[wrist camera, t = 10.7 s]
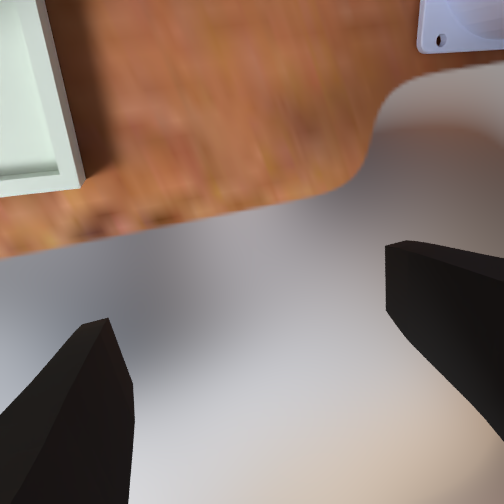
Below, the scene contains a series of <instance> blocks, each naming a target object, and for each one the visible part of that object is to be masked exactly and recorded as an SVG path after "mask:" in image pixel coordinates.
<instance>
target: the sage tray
mask: <svg viewBox="0 0 504 504" xmlns="http://www.w3.org/2000/svg"><path fill="white" fill-rule="evenodd" d="M85 180H86V177H85V173H84V168H83V164H82V160H81V155H80V151H79V147H78V142H77V138H76V134H75V130H74V125H73V121H72V117H71V112H70V108H69V104H68V99H67V95H66V91H65V87H64V82H63V78H62V74H61V69H60V65H59V61H58V56H57V52H56V48H55V43H54V39H53V35H52V31H51V26H50V22H49V18H48V13H47V9H46V5H45V0H0V197H7V196H16V195H25V194H34V193H43V192H52V191H60V190H69V189H78V188H81V187H82V185H83V183H84V182H85Z"/></svg>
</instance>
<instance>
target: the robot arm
mask: <svg viewBox="0 0 504 504" xmlns="http://www.w3.org/2000/svg"><path fill="white" fill-rule="evenodd" d="M438 36H440V38H441V42H440V45H439V46H437V44H436V39H437V37H438ZM417 48H418V51H419V52H420V53H422V54H436V53H453V52H470V51H487V50H504V0H421V1H420V11H419V22H418V32H417ZM385 274H386V275H385V276H386V311H387V313H388V314H389V316H390V317H391V318H392V320H393V321H394V323H395V324H396V325H397V327H398V328H399V329H400V331H401V332H402V333H403V335H404V336H405V337H406V338H407V339H408V340H409V342H410V343H411V344H412V345H413V346H414V347H415V348H416V349H417V350H418V351H419V352H420V353H421V354H422V355H423V356H424V357H425V358H426V359H427V360H428V361H429V362H430V363H431V364H432V365H433V366H434V367H435V368H436V369H437V370H438V371H439V372H440V373H441V374H442V375H443V376H444V377H445V378H446V379H447V380H448V381H449V382H450V383H451V384H452V385H453V386H454V387H455V388H456V389H457V390H458V391H459V392H460V393H461V394H462V395H463V396H464V397H465V398H466V399H467V400H468V401H469V402H470V403H471V404H472V405H473V406H474V407H475V408H476V410H477V411H478V412H479V413H480V414H481V415H482V416H483V417H484V418H485V419H486V420H487V422H488V423H489V424H490V425H491V427H492V428H493V429H494V430H495V432H496V433H497V434H498V435H499V436H500V437H501V439H502V440H503V441H504V258H499V257H494V256H489V255H484V254H479V253H474V252H470V251H465V250H460V249H455V248H450V247H446V246H440V245H435V244H430V243H424V242H418V241H407V240H406V241H402V242H398V243H394V244H390V245H387V246H385ZM134 424H135V416H134V396H133V383H132V380H131V377H130V375H129V372H128V369H127V367H126V364H125V361H124V358H123V356H122V353H121V350H120V348H119V345H118V342H117V340H116V337H115V334H114V331H113V329H112V326H111V324H110V321H109V318H105V319H101V320H97V321H93V322H90V323H86V324H82V325H81V326H80V327H79V328H78V329H77V330H76V331H75V332H74V333H73V335H72V336H71V337H70V338H69V339H68V340H67V341H66V342H65V344H64V345H63V346H62V347H61V348H60V349H59V351H58V352H57V353H56V354H55V356H54V357H53V358H52V359H51V360H50V361H49V362H48V363H47V365H46V366H45V367H44V368H43V369H42V370H41V371H40V373H39V374H38V375H37V376H36V377H35V378H34V380H33V381H32V382H31V383H30V384H29V385H28V386H27V387H26V388H25V389H24V390H23V391H22V392H21V394H20V395H19V396H18V397H17V398H16V399H15V400H14V401H13V402H12V403H11V404H10V405H9V406H8V407H7V408H6V409H5V411H3V412H2V414H1V415H0V504H128V499H129V488H130V476H131V463H132V452H133V439H134Z"/></svg>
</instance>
